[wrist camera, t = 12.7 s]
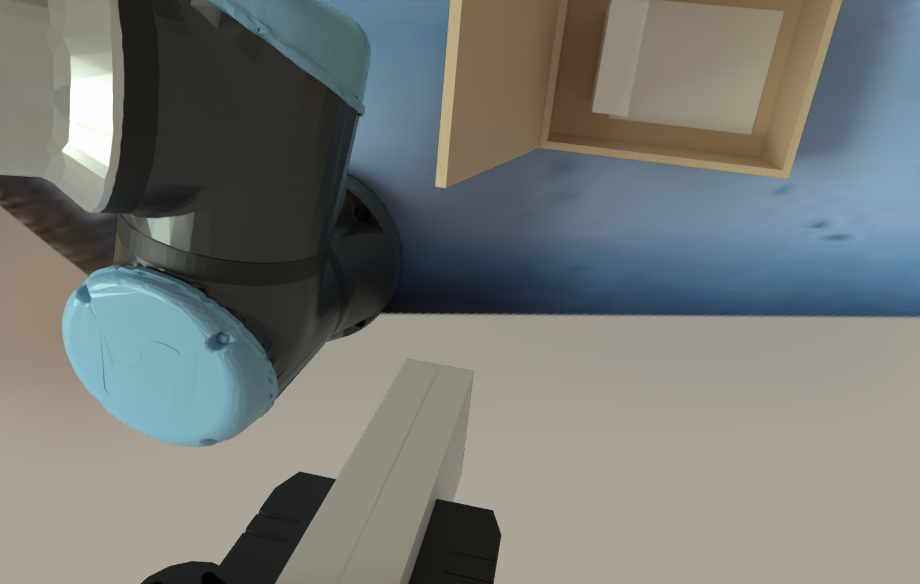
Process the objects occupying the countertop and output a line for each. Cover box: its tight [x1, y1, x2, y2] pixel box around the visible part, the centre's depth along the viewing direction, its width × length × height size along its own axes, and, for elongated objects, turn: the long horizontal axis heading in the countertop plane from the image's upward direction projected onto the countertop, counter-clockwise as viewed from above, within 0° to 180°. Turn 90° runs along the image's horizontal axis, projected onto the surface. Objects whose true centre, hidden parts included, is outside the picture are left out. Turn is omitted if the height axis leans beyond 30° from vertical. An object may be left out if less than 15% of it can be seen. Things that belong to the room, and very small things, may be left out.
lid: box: [435, 0, 559, 188], centre depth 31 cm, size 16×12×1 cm
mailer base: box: [539, 0, 842, 179], centre depth 38 cm, size 16×12×10 cm
